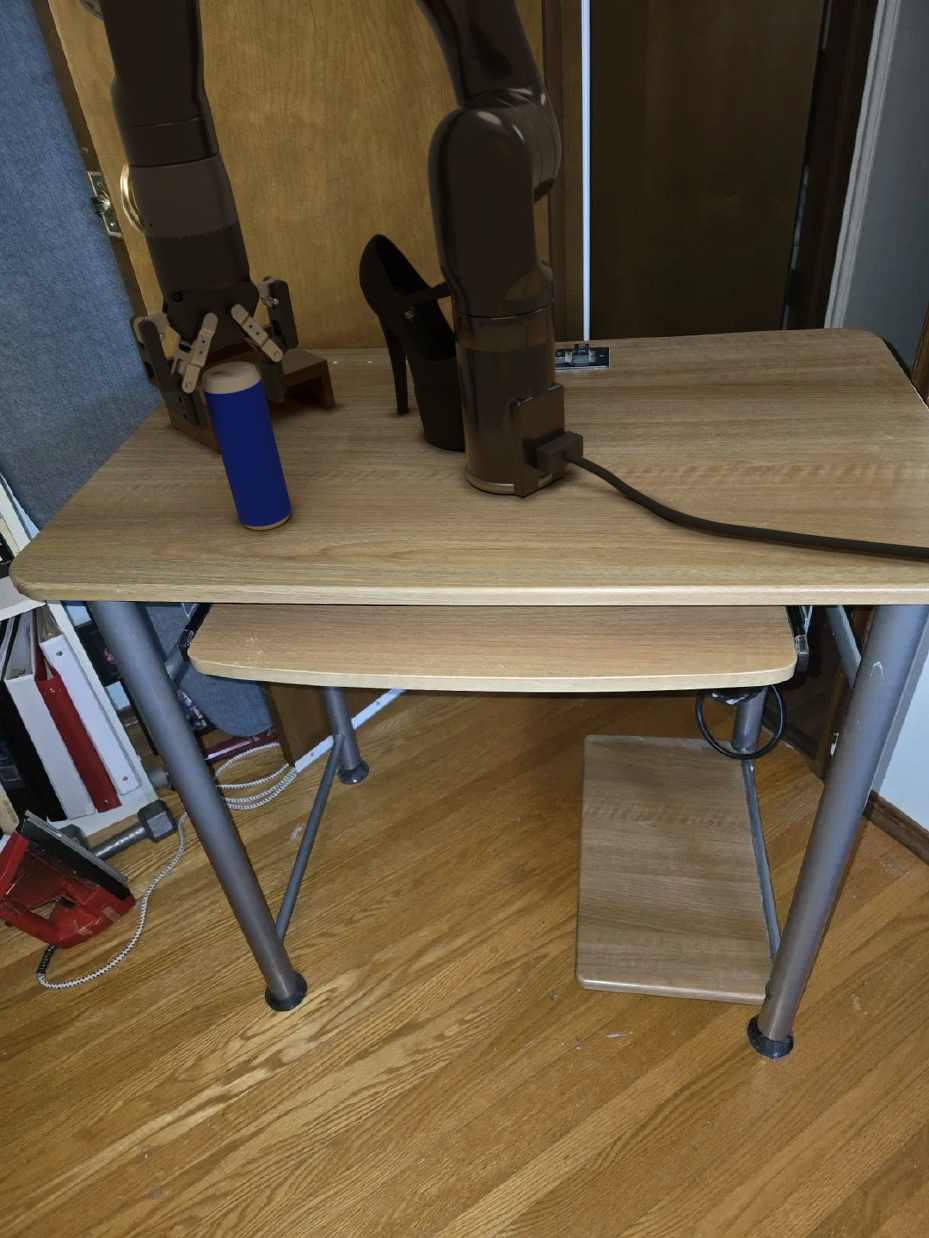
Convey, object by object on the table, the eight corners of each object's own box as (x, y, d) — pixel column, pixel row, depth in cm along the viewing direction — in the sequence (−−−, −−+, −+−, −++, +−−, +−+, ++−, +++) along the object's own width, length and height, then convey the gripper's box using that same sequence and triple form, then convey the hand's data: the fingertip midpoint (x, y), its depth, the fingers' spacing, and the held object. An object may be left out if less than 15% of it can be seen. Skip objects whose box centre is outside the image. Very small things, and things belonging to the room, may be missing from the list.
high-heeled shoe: (466, 466, 91) (446, 266, 80) (364, 418, 104) (334, 239, 92) (523, 440, 95) (512, 245, 83) (417, 396, 108) (395, 222, 96)
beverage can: (300, 505, 88) (266, 359, 79) (282, 533, 84) (244, 382, 75) (252, 504, 89) (213, 360, 80) (232, 531, 85) (189, 383, 76)
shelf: (336, 407, 107) (324, 342, 102) (219, 454, 99) (200, 386, 94) (284, 384, 115) (270, 322, 110) (172, 426, 107) (152, 362, 102)
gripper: (125, 249, 64) (186, 453, 74) (291, 206, 71) (327, 398, 81) (86, 235, 69) (148, 429, 79) (245, 196, 76) (284, 379, 86)
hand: (239, 413), depth 80 cm, fingers open, 7 cm apart
